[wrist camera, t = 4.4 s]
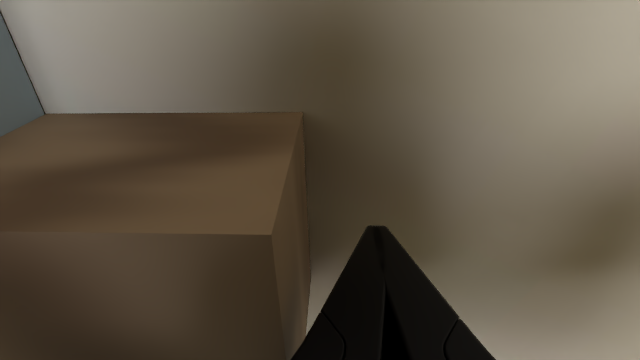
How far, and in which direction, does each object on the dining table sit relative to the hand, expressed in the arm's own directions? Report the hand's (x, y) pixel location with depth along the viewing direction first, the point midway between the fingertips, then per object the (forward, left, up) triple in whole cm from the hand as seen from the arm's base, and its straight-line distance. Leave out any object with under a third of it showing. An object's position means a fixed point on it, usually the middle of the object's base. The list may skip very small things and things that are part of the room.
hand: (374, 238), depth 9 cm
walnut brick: (+5, 0, -2) cm, 6 cm away
